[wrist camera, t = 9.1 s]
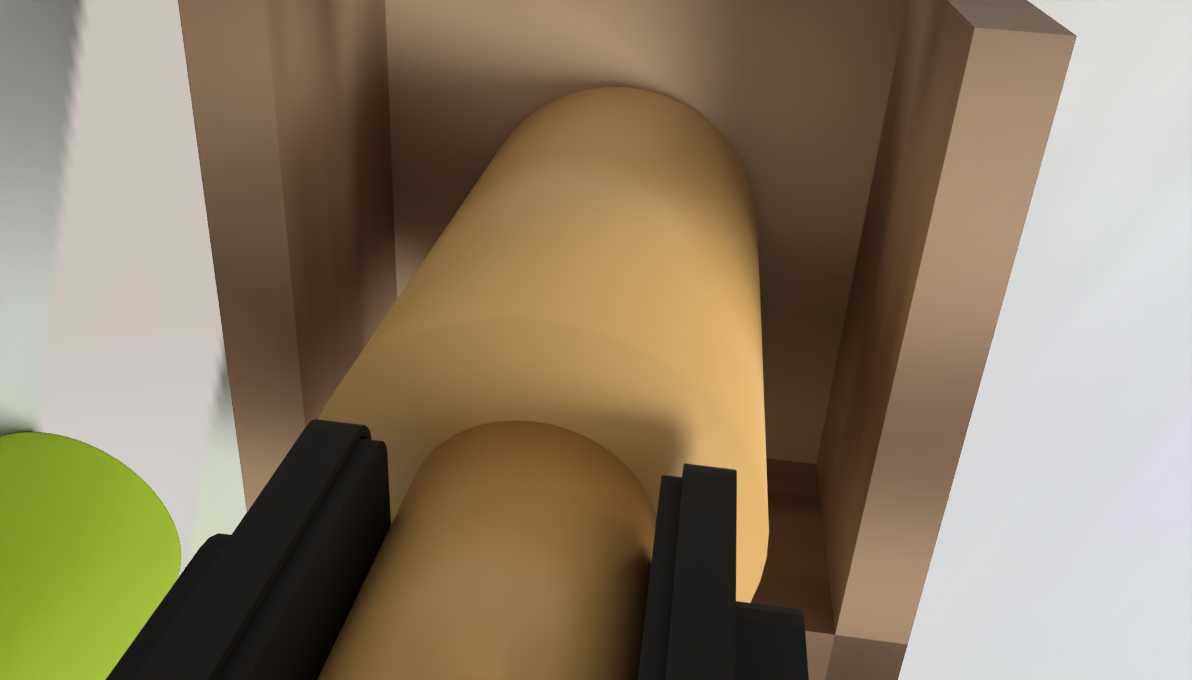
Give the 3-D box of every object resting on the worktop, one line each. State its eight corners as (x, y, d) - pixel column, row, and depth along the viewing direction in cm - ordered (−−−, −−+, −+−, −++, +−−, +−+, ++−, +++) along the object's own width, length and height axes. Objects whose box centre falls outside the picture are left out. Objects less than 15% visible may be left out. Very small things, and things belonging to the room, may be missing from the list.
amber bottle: (482, 74, 18) (-201, 819, 5) (776, 100, 18) (875, 991, 5) (481, 331, 21) (24, 1278, 7) (738, 359, 20) (732, 1414, 7)
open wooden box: (324, -83, 18) (172, -40, 13) (982, -32, 17) (1076, 36, 12) (359, 440, 23) (259, 608, 19) (861, 502, 22) (893, 694, 18)
